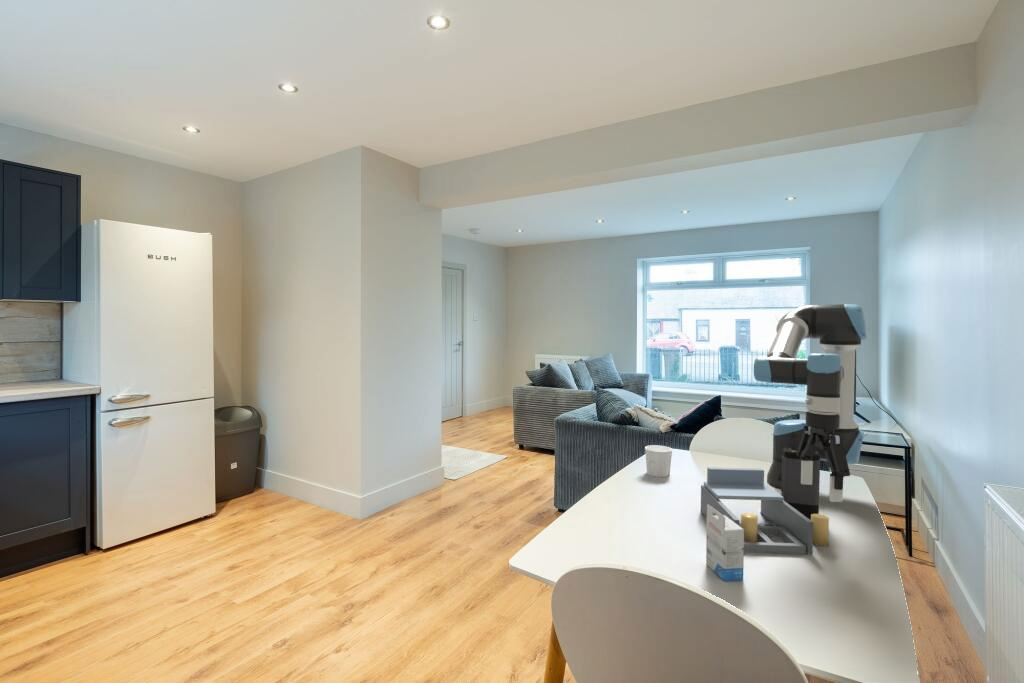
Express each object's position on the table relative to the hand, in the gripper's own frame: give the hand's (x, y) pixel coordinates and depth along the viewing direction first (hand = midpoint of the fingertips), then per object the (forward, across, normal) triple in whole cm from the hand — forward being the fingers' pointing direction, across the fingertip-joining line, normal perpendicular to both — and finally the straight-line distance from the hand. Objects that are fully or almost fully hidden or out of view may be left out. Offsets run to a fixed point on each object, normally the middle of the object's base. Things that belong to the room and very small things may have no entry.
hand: (820, 492), depth 128 cm
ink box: (+14, +17, -30) cm, 38 cm away
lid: (+5, -13, -15) cm, 20 cm away
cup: (+13, -57, -29) cm, 66 cm away
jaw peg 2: (+14, 0, 0) cm, 14 cm away
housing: (+14, -7, -15) cm, 21 cm away
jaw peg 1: (+14, +1, -18) cm, 23 cm away
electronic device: (+14, -18, +4) cm, 23 cm away
